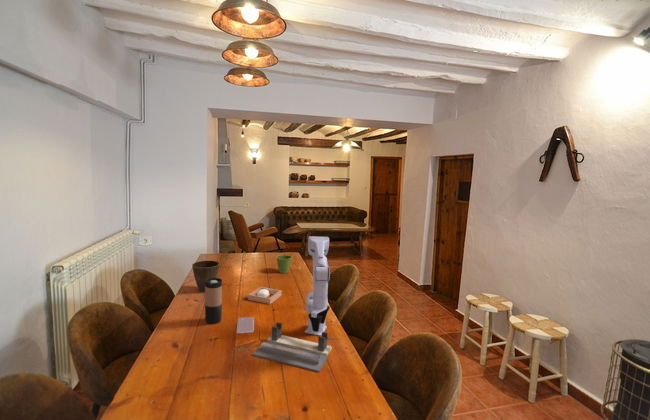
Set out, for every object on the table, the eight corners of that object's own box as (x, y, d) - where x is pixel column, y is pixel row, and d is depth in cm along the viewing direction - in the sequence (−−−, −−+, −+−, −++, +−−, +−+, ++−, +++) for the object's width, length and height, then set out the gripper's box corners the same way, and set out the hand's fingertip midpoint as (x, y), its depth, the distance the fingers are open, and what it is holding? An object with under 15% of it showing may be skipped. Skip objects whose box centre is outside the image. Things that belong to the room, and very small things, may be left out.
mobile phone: (236, 332, 144) (237, 317, 158) (236, 334, 144) (237, 319, 158) (253, 331, 145) (253, 316, 160) (253, 333, 146) (253, 318, 160)
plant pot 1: (197, 296, 182) (197, 269, 180) (188, 288, 193) (188, 262, 191) (222, 291, 192) (223, 265, 190) (212, 284, 203) (213, 259, 201)
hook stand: (273, 335, 143) (274, 320, 143) (331, 348, 135) (332, 333, 134) (266, 342, 138) (267, 326, 137) (327, 356, 129) (328, 339, 129)
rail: (263, 347, 133) (263, 342, 132) (320, 361, 125) (321, 355, 125) (260, 349, 131) (260, 344, 130) (318, 364, 123) (319, 358, 123)
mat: (264, 343, 137) (264, 341, 137) (327, 357, 128) (327, 356, 128) (252, 355, 127) (252, 353, 127) (319, 372, 119) (319, 370, 119)
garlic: (260, 293, 193) (260, 286, 193) (271, 294, 192) (271, 288, 191) (255, 297, 185) (255, 291, 185) (266, 299, 184) (266, 293, 184)
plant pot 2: (283, 268, 243) (283, 253, 242) (295, 272, 236) (295, 257, 235) (271, 272, 233) (272, 256, 232) (283, 275, 226) (284, 260, 225)
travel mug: (217, 316, 160) (217, 276, 157) (224, 321, 154) (225, 281, 152) (202, 320, 154) (202, 279, 152) (209, 326, 149) (209, 284, 147)
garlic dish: (260, 291, 195) (260, 286, 194) (281, 295, 190) (281, 290, 190) (247, 299, 181) (247, 294, 181) (270, 304, 177) (270, 298, 177)
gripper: (317, 288, 140) (315, 318, 142) (304, 300, 127) (303, 333, 128) (332, 290, 138) (330, 321, 140) (321, 303, 124) (319, 336, 126)
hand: (318, 327), depth 134 cm, fingers open, 7 cm apart
